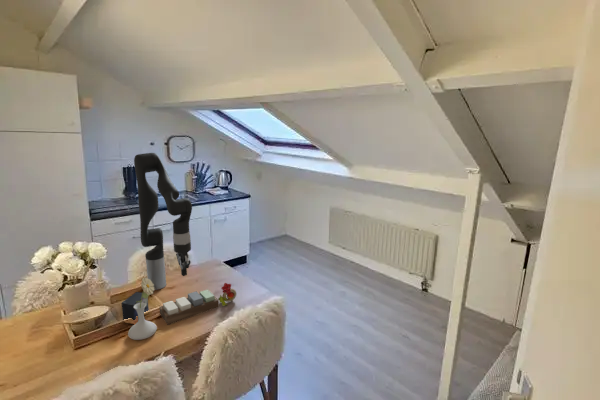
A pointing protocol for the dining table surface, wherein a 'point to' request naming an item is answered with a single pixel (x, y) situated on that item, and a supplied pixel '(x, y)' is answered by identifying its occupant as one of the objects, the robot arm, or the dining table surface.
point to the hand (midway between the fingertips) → (184, 275)
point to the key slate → (195, 298)
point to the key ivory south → (170, 308)
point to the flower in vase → (142, 326)
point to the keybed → (188, 311)
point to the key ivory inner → (183, 303)
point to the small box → (129, 304)
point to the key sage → (207, 296)
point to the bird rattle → (229, 292)
